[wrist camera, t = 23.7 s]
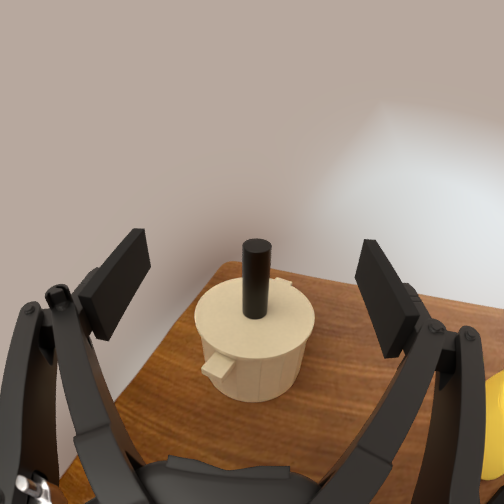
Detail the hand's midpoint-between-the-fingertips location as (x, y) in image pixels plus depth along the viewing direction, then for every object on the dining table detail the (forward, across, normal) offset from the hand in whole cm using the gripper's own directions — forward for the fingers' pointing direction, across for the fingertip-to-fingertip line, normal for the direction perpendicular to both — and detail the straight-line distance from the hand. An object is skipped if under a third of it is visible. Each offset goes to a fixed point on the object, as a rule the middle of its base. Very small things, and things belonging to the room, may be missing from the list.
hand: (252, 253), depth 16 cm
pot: (+10, 0, -23) cm, 25 cm away
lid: (+10, 0, -14) cm, 17 cm away
